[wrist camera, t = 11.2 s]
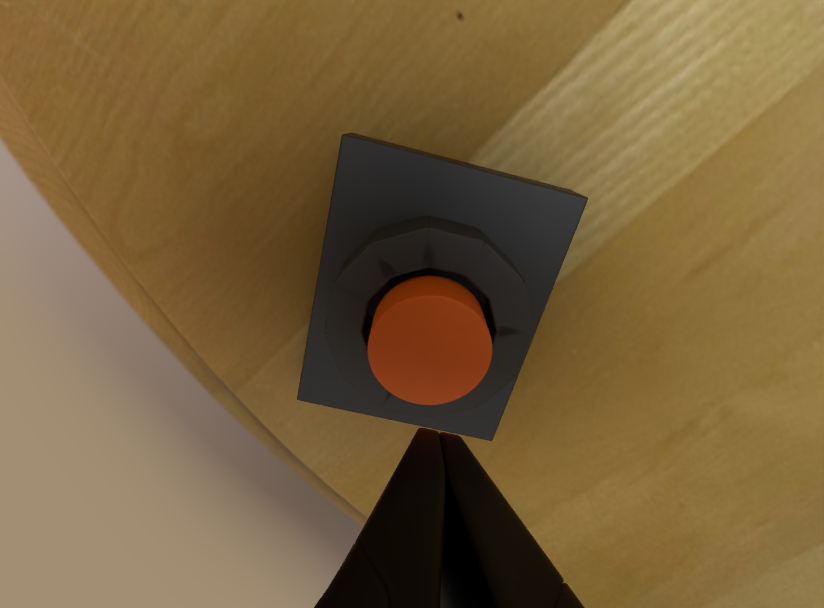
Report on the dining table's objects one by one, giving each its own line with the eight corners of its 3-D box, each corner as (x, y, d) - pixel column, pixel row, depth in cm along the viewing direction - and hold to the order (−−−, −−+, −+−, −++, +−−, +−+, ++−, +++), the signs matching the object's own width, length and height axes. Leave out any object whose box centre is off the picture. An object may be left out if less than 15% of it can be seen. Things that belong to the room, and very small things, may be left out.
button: (363, 362, 15) (356, 392, 13) (386, 262, 13) (381, 281, 12) (466, 384, 15) (471, 416, 13) (499, 289, 14) (509, 312, 12)
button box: (306, 376, 19) (283, 430, 15) (350, 132, 15) (330, 135, 12) (486, 415, 19) (499, 475, 16) (571, 190, 15) (611, 208, 12)
